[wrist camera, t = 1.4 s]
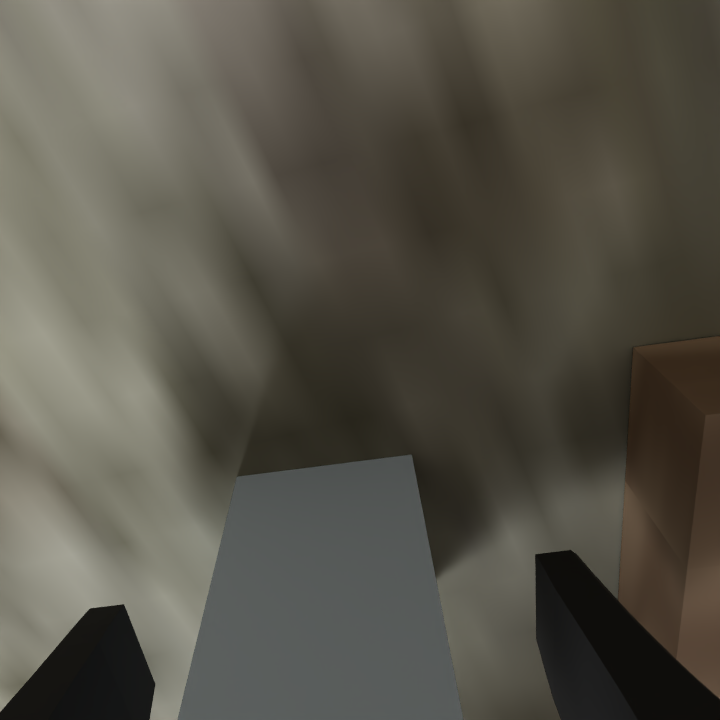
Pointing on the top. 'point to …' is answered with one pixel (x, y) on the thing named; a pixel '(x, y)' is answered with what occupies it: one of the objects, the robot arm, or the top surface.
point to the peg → (324, 602)
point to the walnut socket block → (675, 502)
